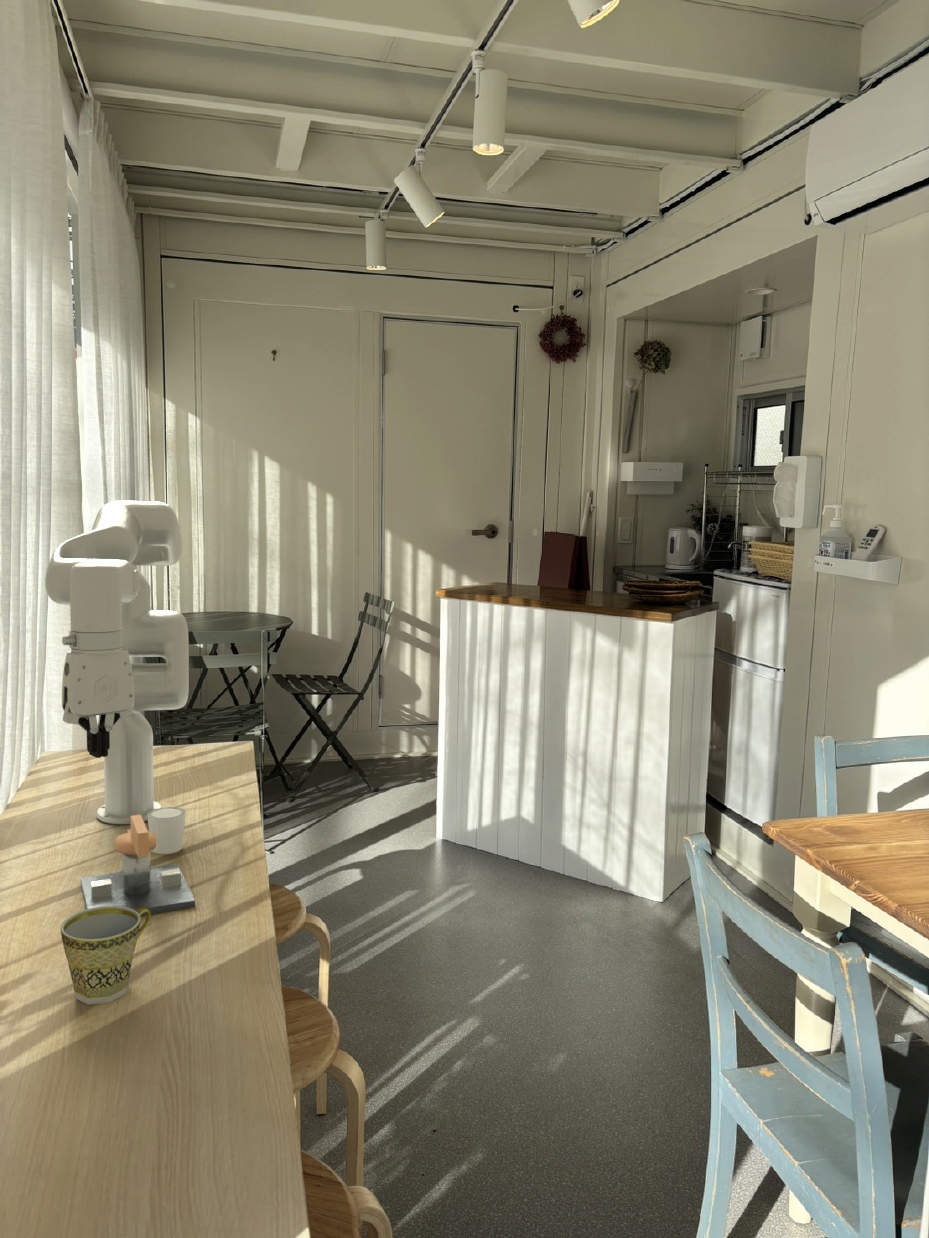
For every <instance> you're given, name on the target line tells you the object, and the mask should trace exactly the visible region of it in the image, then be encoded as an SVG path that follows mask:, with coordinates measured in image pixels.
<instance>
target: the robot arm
mask: <svg viewBox="0 0 929 1238" xmlns="http://www.w3.org/2000/svg"><path fill="white" fill-rule="evenodd" d="M182 539H183V538H182V535H181V530H180V523H179V520H178V517H177V515H176V512H175V510H174V508H172V507H171V506H170V505H169V504H168V503H165V502H162V501H142V500H140V501H139V500H114V501H110V502H108V503H105V504H104V505H103V506H101V507H100V508H99V510H98V512H97V514H96V516H95V519H94V522H93V525H92V528H91V530H89V531H88V532H84V533H81V534H80V535H77V536H75V537H72V538H70V539H67V540H65V541H64V542H61V543H60V544H59V545H58V546H57V547H56V548H55V550H54V551H53V553H52V556H51V559H50V560H49V562H48V565H47V568H46V572H45V579H44V580H45V581H44V583H45V584H44V585H45V586H44V587H45V591H46V593H47V596H48V597H49V598H50V600H51V601H53V602H54V603H55V604H60V605H64V606H65V605H66V606H67V605H68V606H69V605H70V606H69V607H70V613H69V615H70V618H69V619H70V620H69V621H70V631H69V635H67V636H63V637H62V638H61V643H62V645H63V646H68V647H69V649H70V650H68V651H66V655H65V660H64V666H63V672H62V683H61V706H62V710H63V717H62V721H63V722H64V723H65V724H71V725H78V726H80V727H81V728H82V729H83V730H84V731H86V750H87V752H88V754H89V755H90V756H92V757H93V758H96V759H99V758H102V757H103V771H104V773H103V776H104V779H103V780H104V804H103V805H102V806H100V807H99V808H97V810H96V817H97V819H98V820H99V821H101V822H103V823H106V824H110V825H111V824H112V825H131V822H130V816H133V815H141V817H142V819H143V821H144V823H145V822H148V813H149V812H150V811H152V810H154V809H158V808H163V807H162V804H161V803H159V802H157V801H155V800H154V793H155V792H154V791H155V790H154V734H153V733H154V732H153V729H152V726H151V724H150V723H149V721H148V720H147V719H146V717H145V716H144V715H143V714H142V713H141V712H143V711H144V712H145V711H169V710H179V709H182V708H183V707H185V706H186V704H187V702H188V698H189V694H190V693H189V692H190V691H189V690H190V686H189V685H190V681H189V680H190V679H189V677H190V675H189V674H190V673H189V672H190V671H189V670H190V666H189V665H190V663H189V662H190V661H189V660H190V657H189V653H190V651H189V649H190V646H189V644H190V642H189V639H190V638H189V628H188V623H187V619H186V617H185V615H183V614H182V613H180V612H179V611H175V610H161V609H160V610H153V609H152V607H151V586H150V583H149V581H148V580H147V578H145V576H144V575H143V574H142V572H141V571H140V570H139V569H138V568H137V567H136V566H143V567H144V566H145V567H146V566H147V567H149V566H150V567H151V566H152V567H155V566H156V567H157V566H158V567H159V566H160V567H169V566H173V565H175V564H177V563H178V562H179V560H180V559H181V555H182V552H183V541H182ZM132 657H133V658H136V657H137V658H142V657H143V658H145V657H146V658H148V657H149V658H151V657H152V658H154V657H157V658H158V657H159V658H160V657H161V658H163V659H164V660H165V663H163V662H162V663H143V662H142V663H138V662H137V663H131V658H132ZM97 716H98V718H97ZM97 719H98V720H97Z"/></svg>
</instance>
